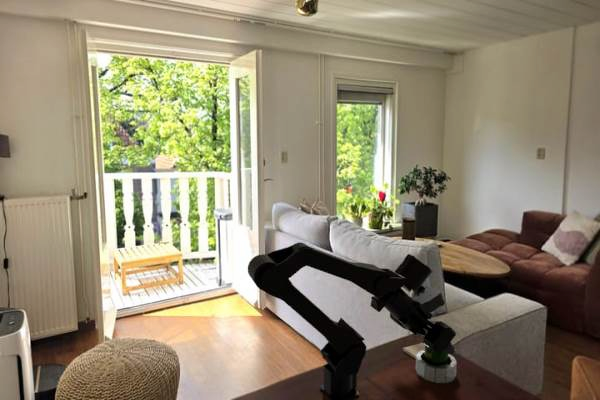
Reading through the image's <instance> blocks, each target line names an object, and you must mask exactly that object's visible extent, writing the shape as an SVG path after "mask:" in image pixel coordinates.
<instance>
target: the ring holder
mask: <svg viewBox="0 0 600 400" xmlns="http://www.w3.org/2000/svg"><path fill="white" fill-rule="evenodd" d="M424 354H425V350H422V351H420V352H418V353H417V355H416V359H415V371H416V374H417V375H418V376H419V377H421V378H422V379H423V380H426V381H429V382H432V383H436V384H447V383H450V382H453V381H455V379H456V377H457V367H458V366H457V365H458V364H457V362H458V361H457V359H456V358H455V357H454V355H450V354H448V365H447V366H433V365H430V364H427V363H426V362H424Z"/></svg>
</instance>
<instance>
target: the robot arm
mask: <svg viewBox="0 0 600 400" xmlns="http://www.w3.org/2000/svg"><path fill="white" fill-rule="evenodd" d="M305 267H308V268H309V267H310V268H312V269H315V270H317V271H320V272H323V273H326V274H328V275H332V276H333V277H337V278H340V279H343V280H345V281H348V282H350V283H353V284H354V285H356V286H358V287H359V288H360V289H362V290H364V291H365V292H367V293H369V294H370V295H372V296H371V297H370V298H371V301H370V307H371V308H372V309H374V310H375V311H376V312H378V313H380V312H382V310H383V309H384V308H385V309H386V310H387V312H389V318H390V319H391V320H392V321H393V322H394V323H396V324H397V325H398V326H400V327H401V328H403V329H404V330H407V331H409V332H410V333H412V334H413V335H415V336H416V335H420V336H423V344H425V345H426V346H427V347H429V348H430V349H431V350H432V351H434V352H435V353H436V354H441V353H445V354H450V355H452V356H454V355H453V354H454V353H455V348H454V346H453V343H452V341H453V339H454V338H455V337H456V335H457V332H456V330H454V329H453V328H452V326H449V324H447V323H446V322H444V321H442V320H441V321H440V320H438V321H439V322H436V323H435V324H433V323H432V322H430V321H431V319H432V318H433V316H434V315H433V314H432V312H434V311H436V310H437V309H439V308H440V307H443V306H444V305H445V303H446V302H445V300H444V297H443V295H442V292H441V290H440V289H437V288H435V287H433V286H428V285H426V286H424V285H423V284H424V283H425V281H427V279H428V278H429V277H430V276H431V275H432V273H433V271H432V269H431V268H430V267H429V266H428V265H427V264H425V263H424V262H422V261H421V260H419V259H418V258H417V257H415V256H414V255H413V254H410V253H408V254H407V255H406V256H405V257H404V259H403V261H402V262H401V263H400V265H399V266H398V267H397V268H396V269H395V271H393V270H391V269H390V268H386V267H385V268H383V267H381V268H380V267H378V266H376V265H374V264H372V263H365V262H353V261H350V260H347V259H344V258H341V257H338V256H336V255H334V254H330V253H328V252H326V251H322V250H320V249H318V248H314V247H312V246H310V245H308V244H306V243H305V242H300V241H299V242H296V243H294V244H292V245H289V246H287V247H284V248H280V249H276V250H273V251H271V252H269V253H266V254H265V253H263V254H258V255H255V256H254V257H253V258H251V260H250V261H249V262H248V266H247V273H248V275H249V277H250V278H251V280H252V281H253V283H254V284H255V286H256V287H257V288H258V289H259V290H261V291H263V292H265V293H266V294H267V295H270V296H271V297H273V298H277V299H278V300H280V301H283V302H284V303H285V304H286V305H287V306H289V307H290V308H291V309H292V310H293V311H295V313H296V314H298V315H299V317H301V318H302V319H303V320H304V321H306V322H307V323H308V324H309V325H310V326H311V327H313V328H314V329H315V330H316V331H317V332H319V334H321V335H322V336H323V338H324V339H326V341H327V343H325V345H324V346H323V347H322V348H321V349H320V355H321V356H322V359H323V360H324V361H326V363H327V364H323V365H324V366H323V384H321V385H320V390H322V392H323V393H324V394H325V395H326V397H328V398H329V399H330V400H349V399H352V398H356V397H359V396H360V393H359V391H358V390H357V386H358V374H359V370H360V368H361V364H362V363H363V360H364V358H365V356H366V353H367V345H366V344H365V342H364V341H365V338H364V337H363V336H362V335H361V334H360V333H359V332H358V331H357V330H356V329H355V328H353V326H352V325H350V324H349V323H348V322H347V321H346V320H345V319H344V318H342V317H340V319H339V320H338V321H336V320H334V319H331V318H330V317H329V316H328V315H327V314H326V313H325V312H324V311H323V310H321V309H320V307H318V306H317V305H316V304H315V303H314V302H313V301H311V299H309V298H308V297H307V296H306V295H305V294H304V293H303V292H302V291H300V290H299V288H297V287H296V286H295V285H294V284H293V282H292V281H291V280H290V279H291V278H292V277H293V276H295V274H297V273H298V272H300V271H301V269H303V268H305ZM404 289H405V290H406V291H407V292H409V293H411V291H413V296H412V297H411V295H410V296H409V294H408V293H407V292H406V291H404ZM443 322H444V323H443ZM445 323H446V324H447V325H446V324H445ZM427 325H428V326H427ZM429 326H430V327H431V328H430V327H429ZM425 331H427V332H428V333H427V334H426V335H425Z"/></svg>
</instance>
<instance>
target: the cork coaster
mask: <svg viewBox="0 0 600 400" xmlns="http://www.w3.org/2000/svg"><path fill="white" fill-rule="evenodd" d="M422 350H425V344H424V342H420V343H418V344H412V345H410V346H409V345H408V346H405V347H402V352H404V353H406V354H407V355H408V356H409V357H411V358H412V359H414V360H416V355H417V353H418V352H420V351H422Z"/></svg>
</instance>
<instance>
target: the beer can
mask: <svg viewBox="0 0 600 400" xmlns="http://www.w3.org/2000/svg"><path fill="white" fill-rule="evenodd" d="M429 321H430V322H432V323H433V324H435V323H436V322H439V321H440V320H429ZM442 322H443V323H445V324H446V325H448V324H447V323H446V322H444V321H442ZM427 326H428V325H427ZM429 327H430V326H429ZM430 328H431V327H430ZM427 333H428V332H427V331H425V335H426V334H427ZM424 362H426V363H427V364H430V365H433V366H447V365H448V354H445V353H441V354H436V353H435V352H434V351H432V350H431V349H430V348H429V347H427V346H426V345H425V354H424Z"/></svg>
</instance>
